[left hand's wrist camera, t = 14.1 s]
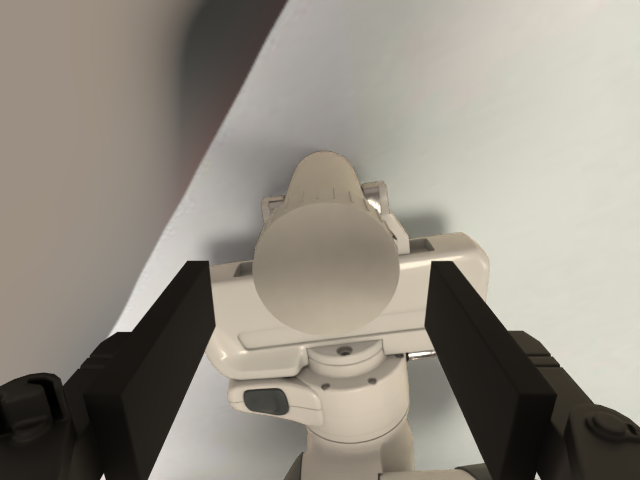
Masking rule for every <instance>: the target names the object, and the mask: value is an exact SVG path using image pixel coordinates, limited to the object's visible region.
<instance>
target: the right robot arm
mask: <svg viewBox="0 0 640 480" xmlns="http://www.w3.org/2000/svg"><path fill="white" fill-rule="evenodd" d="M361 189H362V192H363V194H364V197H365V199H366V201H367V202H368V203H369V204H370V205H371V206H372V207H374V208H377V209H378V211H379V213H380V216H381V217H382V219H383V221H385V220H386V222H387V224H388V226H389V229H390V231H391V233H392V235H393V236H392V237H393V239H394V242H395V244H396V246H397V248H398V251H397V252H398V256H399V263H400V275H399V282H398V285H397V289H396V291H395V294H394V296H393V298H392V300H391V301H390V303H389V304H388V306H387V307H386V308H385V310H384V311H383V312H382V313H381V314H380V315H379V316H378V317H377V318H376V319H374V320H373V321H371V322H370V323H369V324H367V325H365V326H363V327H362V328H360V329H357V330H355V331H352V332H349V333H345V334H340V335H333V336H319V335H312V334H307V333H303V332H300V331H297V330H295V329H292V328H290V327H289V326H287V325H285V324H283V323H282V322H281V321H279V320H278V319H276V318H275V317H274V316H273V315H272V314H271V313H270V312H269V311H268V309H267V308H266V307H265V306H264V304H263V303H262V301H261V299H260V298H259V296H258V293H257V291H256V288H255V285H254V281H253V273H252V266H253V265H252V263H253V260H249V261H241V262H234V263H226V264H218V265H211V266H209V269H210V278H211V287H212V295H213V304H214V313H215V322H216V327H215V329H214V332H213V334H212V336H211V338H210V341H209V343H208V345H207V347H206V350H205V353H206V355H207V357H208V359H209V361H210V362H211V364H212V365H213V367H214V368H215V369H216V370H217V371H218V372H220V373H221V374H222V375H224V376H226V377H228V378H230V380H229V387H228V399H229V402H230V405H231V406H232V407H233V408H234V409H236V410H238V411H241V412H247V413H255V414H262V415H268V416H274V417H279V418H284V419H288V420H292V421H295V422H299V423H302V424H304V425H305V427H306V429H307V432H308V434H307V451H306V452H302V453H301V454H300V455H299V456H298V458H297V459H296V460H295V462H294V463H293V465H292V467H291V468H290V470H289V472H288V474H287V475H286V477H285V479H284V480H492V478H491V476H490V473H489V471H488V469H487V467H486V464H485V463H482V464H475V465H467V466H460V467H456V468H455V469H453V470H427V471H414V445H413V435H412V431H411V427H410V425H409V422H408V420H407V415H408V411H409V404H410V398H409V384H408V372H407V363H406V362H408V361H410V360H420V359H428V358H432V357H435V356H436V357H437V354H436V352H435V350H434V347H433V345H432V343H431V341H430V338H429V336H428V334H427V332H426V329H425V327H424V322H425V313H426V304H427V295H428V287H429V278H430V269H431V261H453V262H454V263H455V265H456V266H457V267H458V268H459V270H460V271H461V272H462V274H463V275H464V276H465V277H466V279H467V280H468V281H469V282H470V284H471V285H472V286H473V288H474V289H475V290H476V291H477V293H478V294H479V295H480V296H481V298H482V299H483V300H484V302H486V296H487V290H488V281H489V259H488V256H487V254H486V253H485V251H484V250H483V249H482V248H481V247H480V246H479V245H478V244H477V243H476V242H475V241H474V240H473V239H471V238H470V237H469V236H467V235H466V234H464V233H461V232H458V233H450V234H442V235H435V236H427V237H420V238H412V239H409V236H408V235H407V233H406V231H405V229H404V228H403V226H402V225H401V223H400V222H399V221H398V219H397V218H396V217H395V215H394V214H393V213H392V211H391V210H390V209H389V206H388V194H387V188H386V184H385V183H384V181H378V182H371V183H365V184H361ZM285 197H286V196H285V195H282V196H274V197H266V198H263V200H262V202H261V210H262V215H263V219H264V224H265V222H266V220H269V218H270V217H271V215H272V214H273V211H274V209H275V208H278V207H279V206H280V205H281V204H283V202H284V199H285ZM534 480H536V479H534Z"/></svg>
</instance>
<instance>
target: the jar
mask: <svg viewBox="0 0 640 480" xmlns="http://www.w3.org/2000/svg"><path fill="white" fill-rule="evenodd" d="M317 187H319V189H320V188H331V189H333V187H336V189H339V190H344V191H347V192H349V191H352V193H353V194H355V195H357V196H359V197H361V198H362V199H363V198H365V197H364V194H363V192H362V189H361V186H360V184H359V181H358V179H357V176H356V174H355V171H354V169H353V167H352V166H351V164H350V163H349V162H348V161H347V160H346V159H345V158H344V157H342V156H341V155H339V154H337V153H334V152H330V151H320V152H315V153H312V154H310V155H308V156H307V157H305V158H304V159H303V160H302V161H301V162H300V163H299V164H298V166H297V167H296V169H295V171H294V174H293V177H292V180H291V182H290V185H289V188H288V191H287V194H286V197H285V199H284V202H285V201H286V199H287V198H288V197H289V199H290V198H291V197H293V196H295V195H297V194H299V193H301V191H304V192H305V191H308V190H313V189H317ZM284 202H283V203H284Z"/></svg>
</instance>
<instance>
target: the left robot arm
mask: <svg viewBox="0 0 640 480" xmlns="http://www.w3.org/2000/svg"><path fill="white" fill-rule="evenodd" d="M215 327H216V322H215V313H214V304H213V295H212V287H211V278H210V269H209V261H187V262H186V263H185V265H184V266H183V267H182V268H181V270H180V271H179V272H178V274H177V275H176V276H175V277H174V279H173V280H172V281H171V282H170V284H169V285H168V286H167V288H166V289H165V290H164V291H163V293H162V294H161V295H160V296H159V298H158V299H157V300H156V302H155V303H154V304H153V305H152V307H151V308H150V309H149V310H148V312H147V313H146V314H145V316H144V317H143V318H142V319H141V321H140V322H139V323H138V324H137V326H136V327H135V328H134V330H133V331H132V332H117V333H115V334H114V335H112V336H111V337H109V338H107V339H106V340H104V341H103V342H101V343H100V344H99V346H98V347H97V348H96V349H95V350H94V351H93V352H92V354H91V355H90V358H87V359H86V361H84V363H83V364H82V365H81V367H80V369H78V370H77V371H76V372H75V373H74V374H73V375H72V376H71V377H70V379H69V380H68V381H67V382H66V383H65V384H64V385H62V382H61V379H60V378H59V377H58V376H56V375H55V374H50V373H36V374H29V375H26V376H23V377H20V378H17V379H14V380H12V381H10V382H8V383H6V384H4V385H2V386H0V480H100V479H101V477H102V475H103V474H104V475H105V479H106V480H148V478H149V476H150V473H151V471H152V469H153V467H154V464H155V462H156V460H157V458H158V455H159V453H160V451H161V449H162V446H163V444H164V442H165V440H166V437H167V435H168V433H169V431H170V428H171V426H172V424H173V422H174V419H175V417H176V415H177V413H178V410H179V408H180V406H181V404H182V401H183V399H184V397H185V395H186V392H187V390H188V388H189V386H190V383H191V381H192V379H193V377H194V374H195V372H196V370H197V368H198V365H199V363H200V361H201V359H202V356H203V354H204V352H205V350H206V347H207V345H208V343H209V341H210V338H211V336H212V334H213V332H214V329H215ZM424 327H425V329H426V332H427V334H428V336H429V338H430V341H431V343H432V345H433V347H434V350H435V352H436V354H437V356H438V359H439V361H440V363H441V365H442V368H443V370H444V372H445V374H446V377H447V379H448V381H449V383H450V386H451V388H452V390H453V392H454V395H455V397H456V399H457V401H458V404H459V406H460V408H461V410H462V413H463V415H464V417H465V419H466V422H467V424H468V426H469V428H470V431H471V433H472V435H473V437H474V440H475V442H476V444H477V446H478V449H479V451H480V453H481V455H482V458H483V460H484V462H485V464H486V467H487V469H488V471H489V473H490V476H491V478H492V480H534V479H535V475H536V472H537V473H538V475H539V477H540V479H541V480H640V427H639V426H638V425H636V424H635V423H634V422H633V421H632V420H631V419H629V418H628V417H626V416H624V415H622V414H621V413H619V412H617V411H615V410H613V409H610V408H607V407H604V406H602V405H596V404H594V403H593V402H592V401H591V400H590V398H589V397H588V396H587V395H586V394H585V393H584V392H583V390H582V389H581V388H580V387H579V386H578V385H577V384H576V382H575V381H574V380H573V379H572V378H571V377H570V376H569V375H568V373H567V372H566V371H565V370H564V369H563V368H562V367H560V364H559V363H558V362H557V361H556V360H555V359H554V357H551V354H550V353H549V352H548V351H547V350H546V348H545V347H544V346H543V345H542V344H541V343H540V342H539V341H538V340H536V339H535V338H533V337H532V336H530V335H529V334H527V333H525V332H524V331H507V330H506V328H505V327H504V326H503V324H502V323H501V322H500V321H499V319H498V318H497V317H496V316H495V314H494V313H493V312H492V310H491V309H490V308H489V307H488V305H487V304H486V303H485V302H484V300H483V299H482V298H481V296H480V295H479V294H478V293H477V291H476V290H475V289H474V288H473V286H472V285H471V284H470V282H469V281H468V280H467V279H466V277H465V276H464V275H463V274H462V272H461V271H460V270H459V268H458V267H457V266H456V265H455V263H454V262H453V261H431V269H430V278H429V287H428V295H427V304H426V313H425V322H424Z"/></svg>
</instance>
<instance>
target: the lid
mask: <svg viewBox="0 0 640 480" xmlns="http://www.w3.org/2000/svg"><path fill="white" fill-rule="evenodd" d="M392 236H393V235H392V233H391V231H390V229H389V226H388V224H387V222H386V220H385V221H383V219H382V217H381V216H380V213H379V211H378V209H377V208H374V207H372V206H371V205H370V204H369V203H368V202H367V201H366V199H365V198H363V199H362V198H361V197H359V196H357V195H355V194H353V193H352V191H349V192H347V191H344V190H339V189H336V187H333V189H331V188H320V189H319V187H317V189H313V190H308V191H305V192H304V191H301V193H299V194H297V195H295V196H293V197H291V198H290V199H289V197H288V198H287V199H286V201H285V202H284V203H283V204H281V205H280V206H279V207H278V208H275V209H274V211H273V214H272V215H271V217H270V218H269V220H266V222H265V224H264V226H263V229H262V231H261V233H260V236H259V239H258V241H257V243H256V245H255V248H254V250H255V253H254V258H253V263H252V265H253V266H252V273H253V281H254V285H255V288H256V291H257V293H258V296H259V298H260V299H261V301H262V303H263V304H264V306H265V307H266V308H267V309H268V311H269V312H270V313H271V314H272V315H273V316H274V317H275V318H276V319H278V320H279V321H281V322H282V323H283V324H285V325H287V326H289V327H290V328H292V329H295V330H297V331H300V332H303V333H307V334H312V335H319V336H333V335H340V334H345V333H349V332H352V331H355V330H357V329H360V328H362V327H363V326H365V325H367V324H369V323H370V322H371V321H373V320H374V319H376V318H377V317H378V316H379V315H380V314H381V313H382V312H383V311H384V310H385V308H386V307H387V306H388V304H389V303H390V301H391V300H392V298H393V296H394V294H395V291H396V289H397V285H398V282H399V275H400V263H399V256H398V252H397V251H398V248H397V246H396V244H395V242H394V239H393V237H392Z"/></svg>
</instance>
